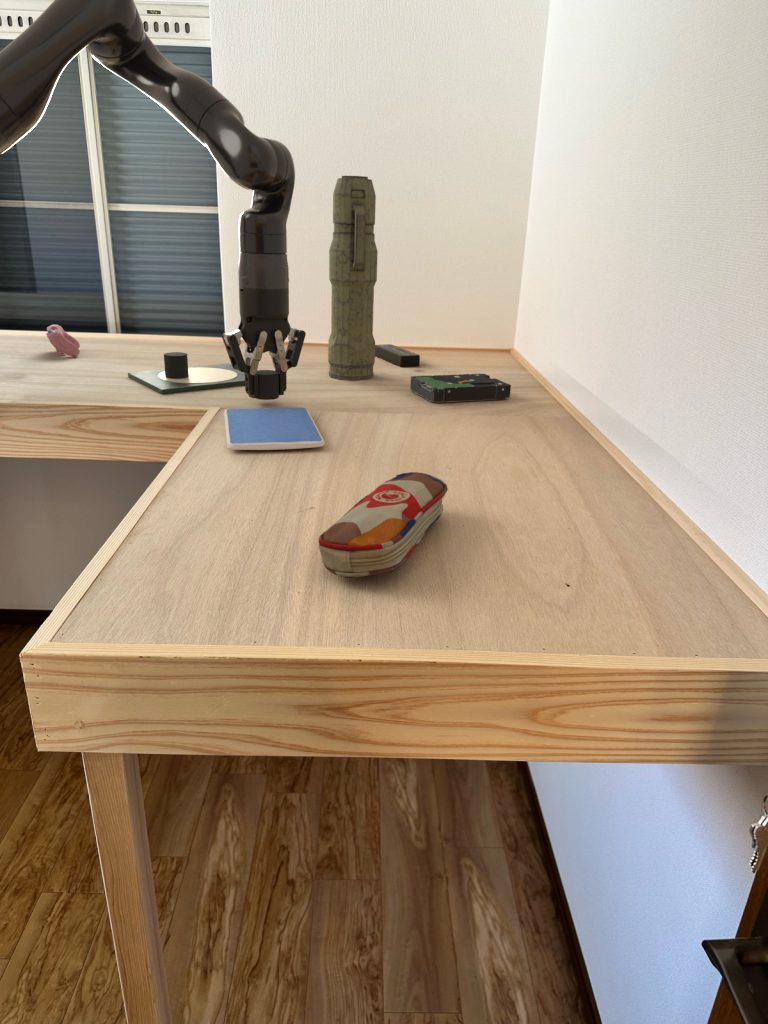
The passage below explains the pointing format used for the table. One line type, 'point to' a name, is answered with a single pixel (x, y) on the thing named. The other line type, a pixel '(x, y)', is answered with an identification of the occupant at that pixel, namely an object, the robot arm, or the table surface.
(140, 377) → the board
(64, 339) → the pink bird figurine
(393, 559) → the pencil case
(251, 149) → the robot arm
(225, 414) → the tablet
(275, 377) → the black cylinder puck
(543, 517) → the table surface
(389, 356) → the multiport hub
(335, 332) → the thermos
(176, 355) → the dark round peg
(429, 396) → the disk drive
